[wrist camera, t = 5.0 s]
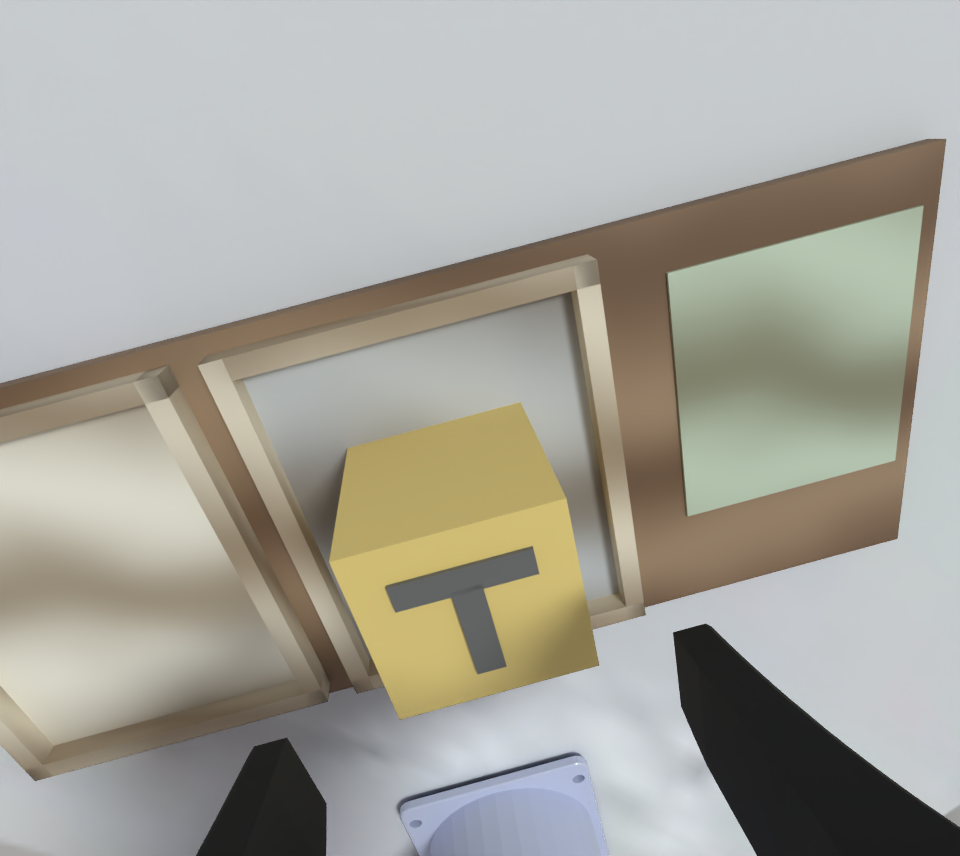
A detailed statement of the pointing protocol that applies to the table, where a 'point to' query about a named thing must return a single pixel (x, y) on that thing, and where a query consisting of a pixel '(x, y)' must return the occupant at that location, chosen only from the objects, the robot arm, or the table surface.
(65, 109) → the table surface
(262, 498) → the organizer board
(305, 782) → the robot arm
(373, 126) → the table surface
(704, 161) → the table surface
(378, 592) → the letter cube
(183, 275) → the table surface
